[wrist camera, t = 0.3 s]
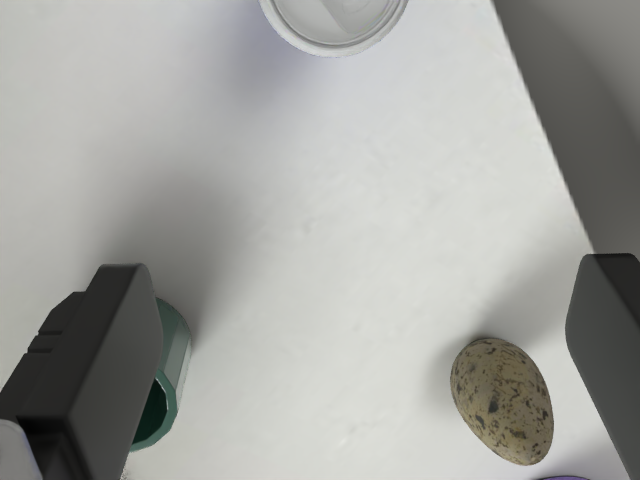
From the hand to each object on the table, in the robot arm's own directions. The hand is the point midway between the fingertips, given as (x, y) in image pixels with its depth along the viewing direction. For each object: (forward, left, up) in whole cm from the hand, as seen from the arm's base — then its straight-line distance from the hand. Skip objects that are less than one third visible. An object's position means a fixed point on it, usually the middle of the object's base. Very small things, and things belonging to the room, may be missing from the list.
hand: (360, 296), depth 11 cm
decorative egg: (+23, +4, -25) cm, 34 cm away
